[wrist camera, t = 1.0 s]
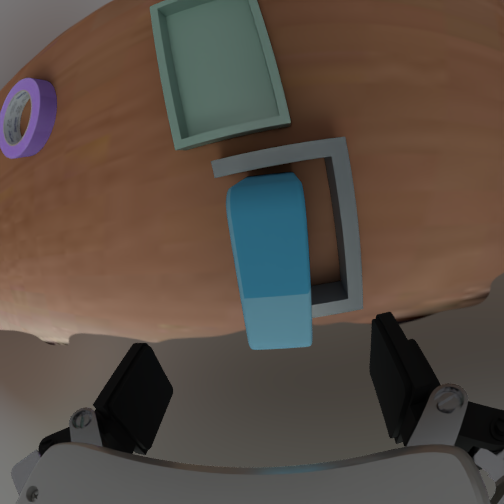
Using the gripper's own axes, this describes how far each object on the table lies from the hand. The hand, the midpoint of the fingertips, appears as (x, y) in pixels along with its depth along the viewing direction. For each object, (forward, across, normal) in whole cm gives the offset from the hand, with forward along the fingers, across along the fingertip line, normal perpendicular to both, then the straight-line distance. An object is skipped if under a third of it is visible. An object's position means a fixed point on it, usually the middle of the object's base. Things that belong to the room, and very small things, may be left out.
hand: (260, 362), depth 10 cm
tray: (+19, +2, -19) cm, 27 cm away
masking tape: (+20, +29, -24) cm, 43 cm away
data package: (+19, -1, 0) cm, 19 cm away
